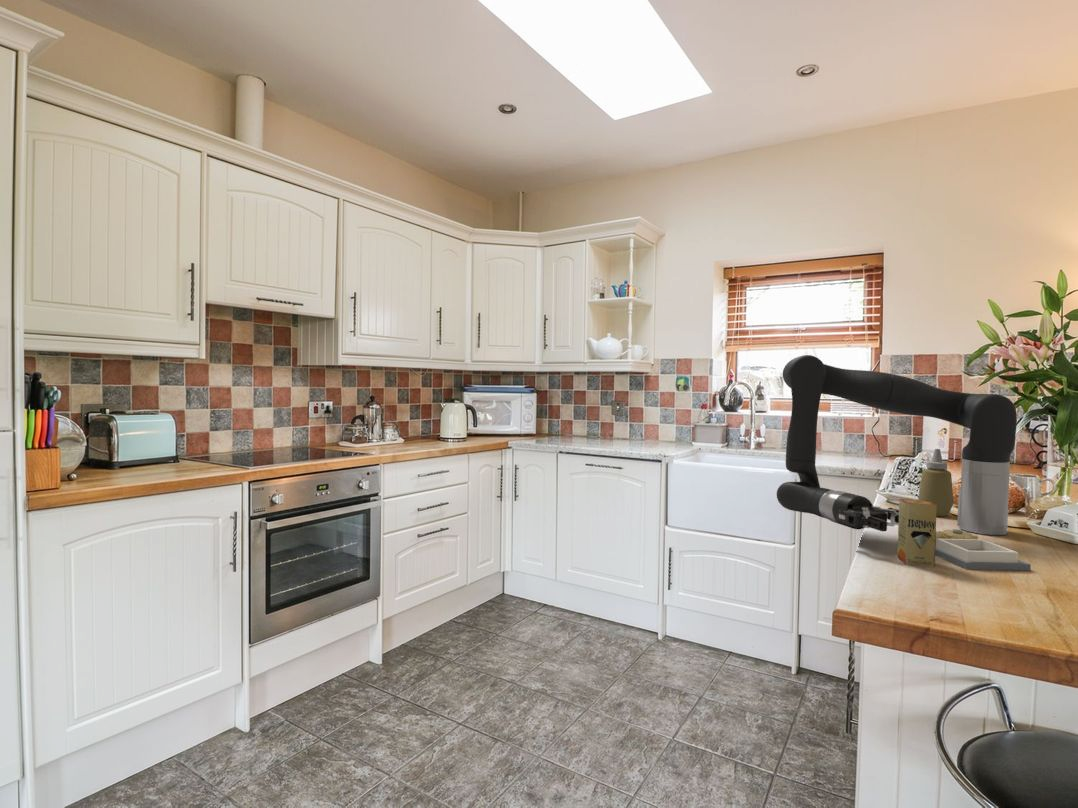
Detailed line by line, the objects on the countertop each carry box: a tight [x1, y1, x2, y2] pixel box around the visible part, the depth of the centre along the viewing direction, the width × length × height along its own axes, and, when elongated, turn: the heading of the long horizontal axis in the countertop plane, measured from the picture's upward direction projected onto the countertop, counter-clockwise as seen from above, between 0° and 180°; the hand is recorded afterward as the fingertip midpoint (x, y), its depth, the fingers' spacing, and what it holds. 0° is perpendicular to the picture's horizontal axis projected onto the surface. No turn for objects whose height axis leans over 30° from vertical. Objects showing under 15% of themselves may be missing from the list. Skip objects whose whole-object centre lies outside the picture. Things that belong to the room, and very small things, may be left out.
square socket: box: [936, 538, 1019, 563], centre depth 116 cm, size 9×9×2 cm
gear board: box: [935, 529, 1032, 571], centre depth 121 cm, size 20×12×4 cm, turn 178°
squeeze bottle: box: [917, 448, 955, 517], centre depth 159 cm, size 8×8×18 cm
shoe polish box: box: [897, 498, 937, 568], centre depth 115 cm, size 5×5×12 cm
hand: (903, 525), depth 118 cm, fingers open, 8 cm apart
